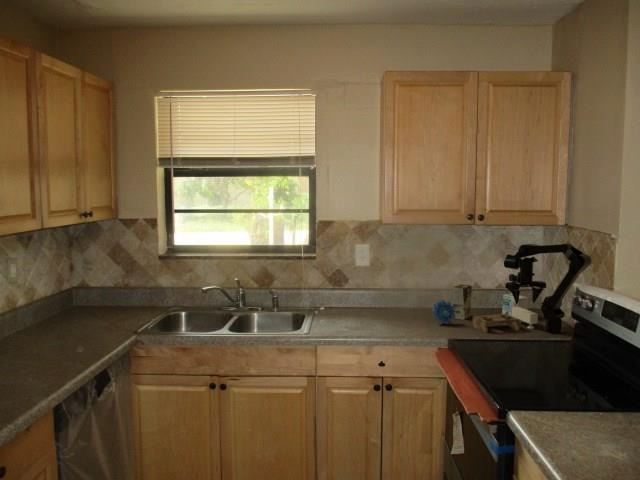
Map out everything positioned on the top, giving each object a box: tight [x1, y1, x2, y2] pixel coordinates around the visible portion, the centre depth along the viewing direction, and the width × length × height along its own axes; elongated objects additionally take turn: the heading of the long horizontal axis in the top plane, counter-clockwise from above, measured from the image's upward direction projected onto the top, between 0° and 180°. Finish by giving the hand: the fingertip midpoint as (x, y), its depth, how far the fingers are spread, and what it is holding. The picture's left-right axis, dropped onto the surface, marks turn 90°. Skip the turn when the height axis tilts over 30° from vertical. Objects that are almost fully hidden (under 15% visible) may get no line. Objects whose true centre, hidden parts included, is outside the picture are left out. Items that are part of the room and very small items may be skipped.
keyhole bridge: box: [472, 313, 521, 333], centre depth 245 cm, size 11×18×5 cm, turn 105°
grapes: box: [431, 299, 456, 325], centre depth 251 cm, size 12×7×12 cm, turn 97°
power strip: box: [512, 307, 539, 330], centre depth 250 cm, size 4×14×7 cm, turn 15°
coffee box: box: [452, 284, 473, 321], centre depth 264 cm, size 9×6×16 cm
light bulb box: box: [501, 293, 529, 316], centre depth 267 cm, size 11×7×11 cm, turn 25°
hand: (525, 303), depth 249 cm, fingers open, 9 cm apart
